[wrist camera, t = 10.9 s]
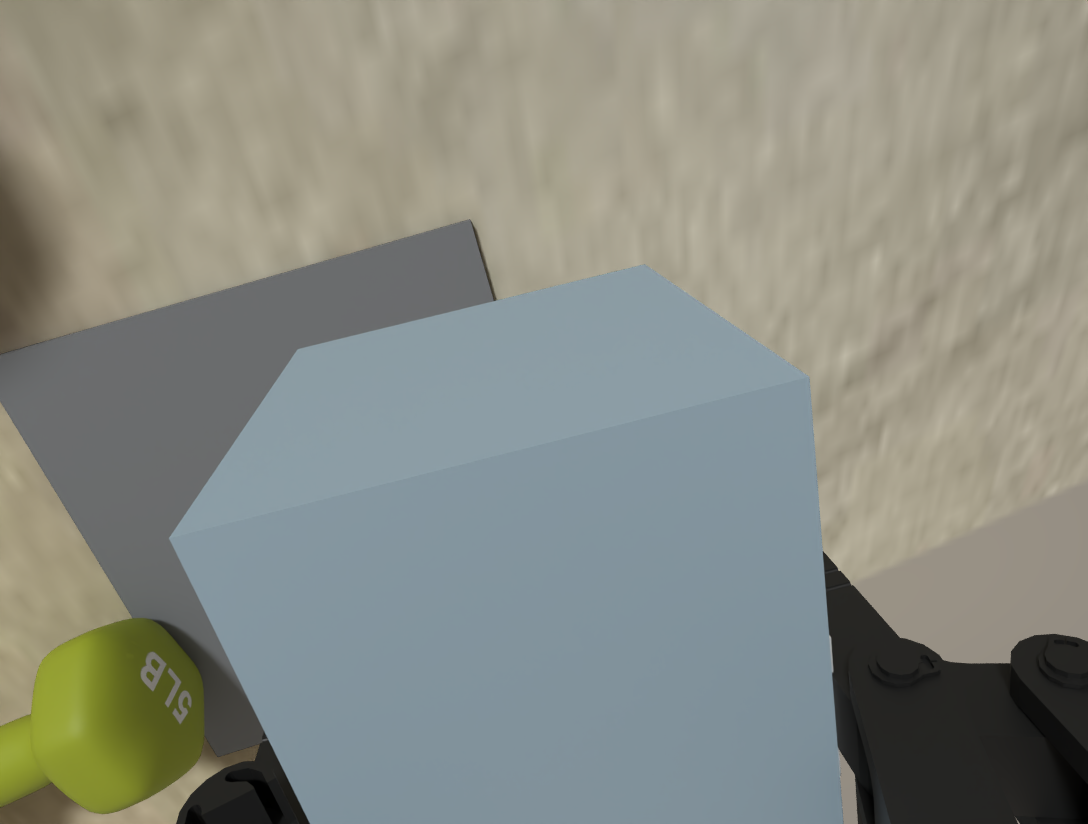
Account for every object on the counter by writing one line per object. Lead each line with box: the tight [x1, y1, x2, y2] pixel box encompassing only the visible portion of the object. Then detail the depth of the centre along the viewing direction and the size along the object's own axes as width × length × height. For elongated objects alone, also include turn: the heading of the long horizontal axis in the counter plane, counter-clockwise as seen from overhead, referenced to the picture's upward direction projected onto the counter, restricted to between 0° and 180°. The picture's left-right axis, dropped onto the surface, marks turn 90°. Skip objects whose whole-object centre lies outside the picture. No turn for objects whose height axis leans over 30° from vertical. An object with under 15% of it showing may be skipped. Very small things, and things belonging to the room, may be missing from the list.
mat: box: [0, 219, 494, 757], centre depth 33 cm, size 20×22×1 cm
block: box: [169, 264, 843, 824], centre depth 12 cm, size 6×6×14 cm
